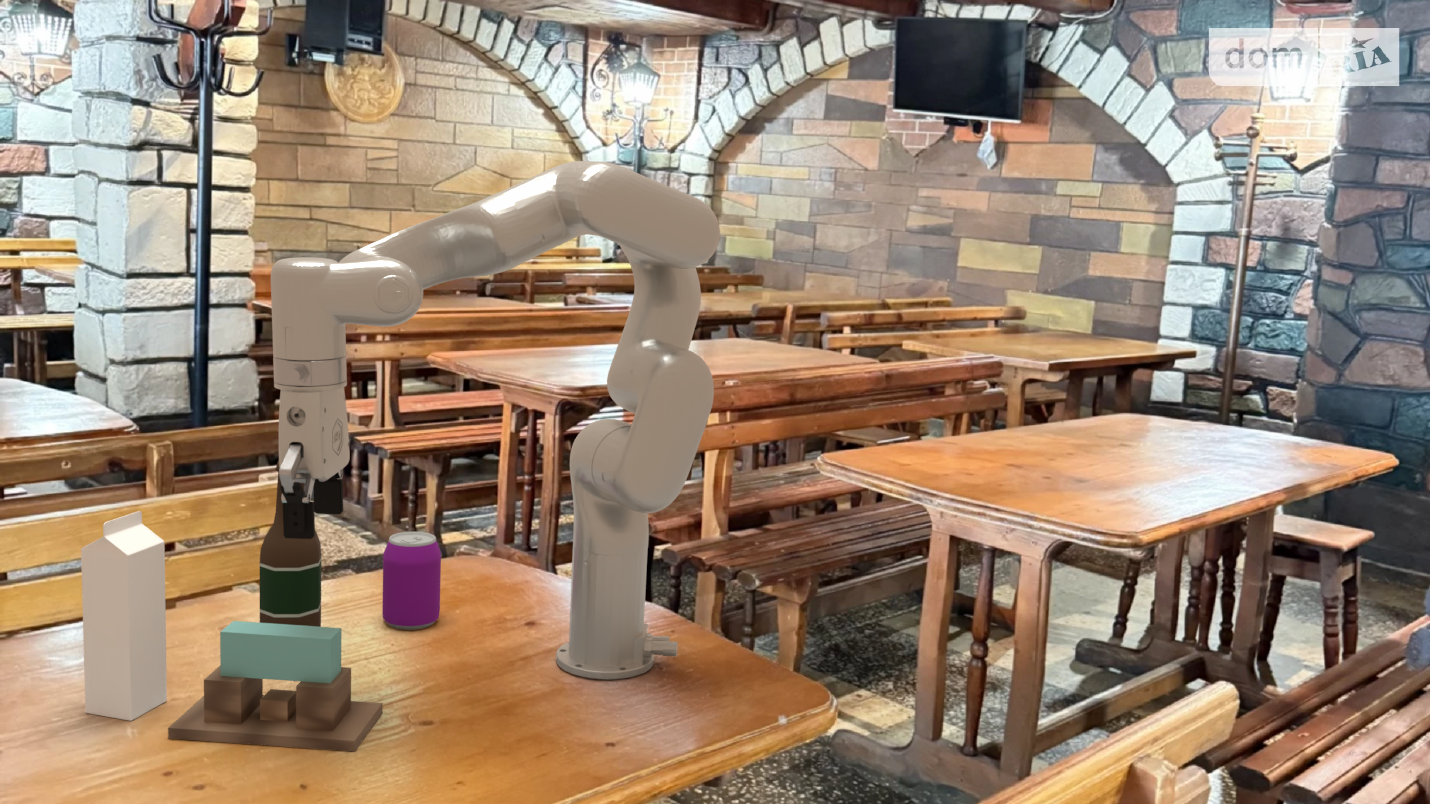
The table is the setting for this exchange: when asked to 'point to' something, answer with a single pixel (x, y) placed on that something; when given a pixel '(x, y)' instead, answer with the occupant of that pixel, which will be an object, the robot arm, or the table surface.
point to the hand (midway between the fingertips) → (314, 525)
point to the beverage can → (411, 580)
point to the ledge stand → (278, 714)
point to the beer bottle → (289, 575)
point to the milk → (124, 620)
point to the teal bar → (280, 652)
